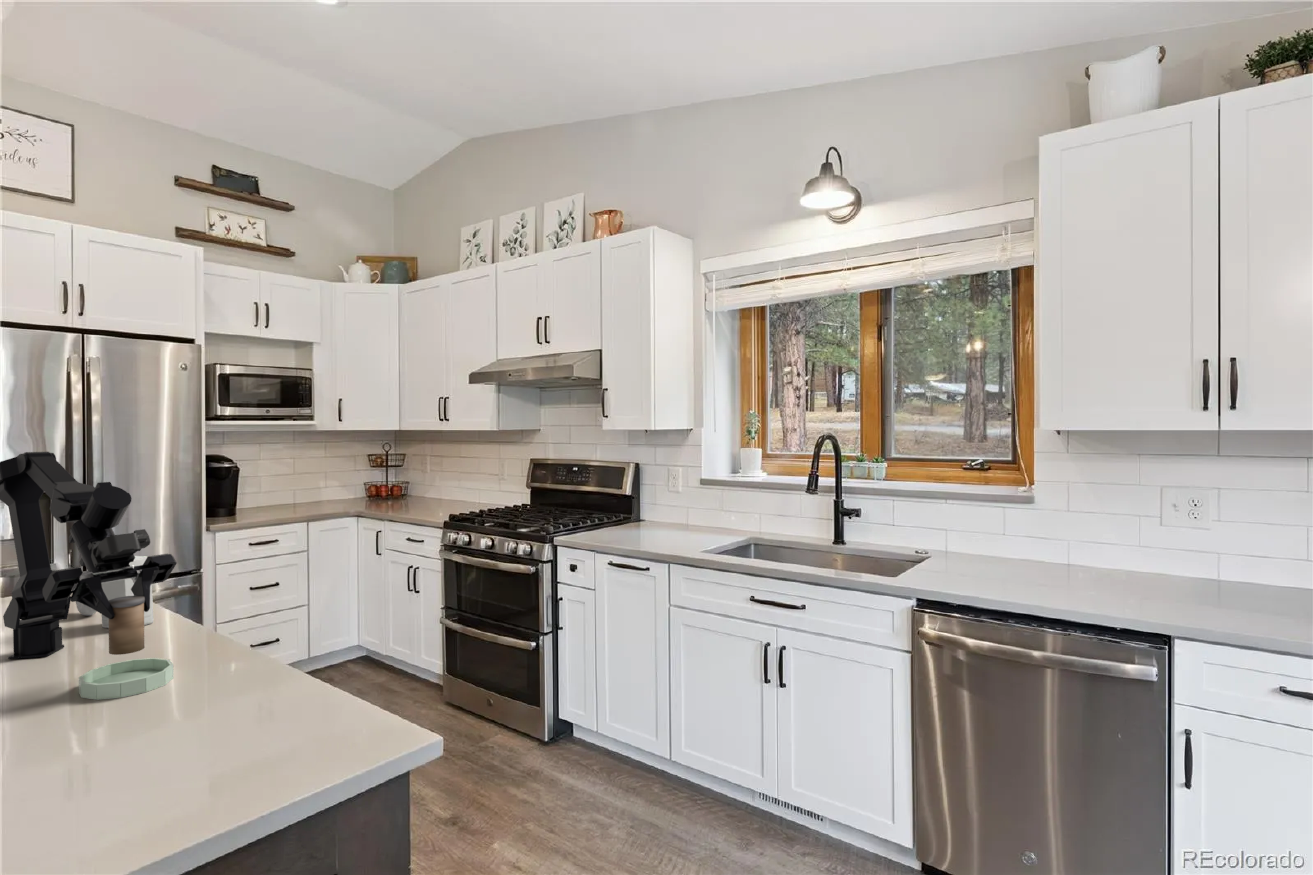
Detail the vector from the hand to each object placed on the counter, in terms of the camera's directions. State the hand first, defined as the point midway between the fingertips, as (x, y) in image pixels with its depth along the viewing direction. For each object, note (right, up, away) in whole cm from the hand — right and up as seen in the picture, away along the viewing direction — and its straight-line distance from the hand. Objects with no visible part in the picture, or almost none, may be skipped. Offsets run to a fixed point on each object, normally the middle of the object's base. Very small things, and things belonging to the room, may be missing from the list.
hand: (130, 613), depth 123 cm
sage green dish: (-1, -13, +1) cm, 13 cm away
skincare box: (-28, -12, +37) cm, 48 cm away
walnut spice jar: (-1, -7, +1) cm, 7 cm away
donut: (-44, -12, +45) cm, 64 cm away
